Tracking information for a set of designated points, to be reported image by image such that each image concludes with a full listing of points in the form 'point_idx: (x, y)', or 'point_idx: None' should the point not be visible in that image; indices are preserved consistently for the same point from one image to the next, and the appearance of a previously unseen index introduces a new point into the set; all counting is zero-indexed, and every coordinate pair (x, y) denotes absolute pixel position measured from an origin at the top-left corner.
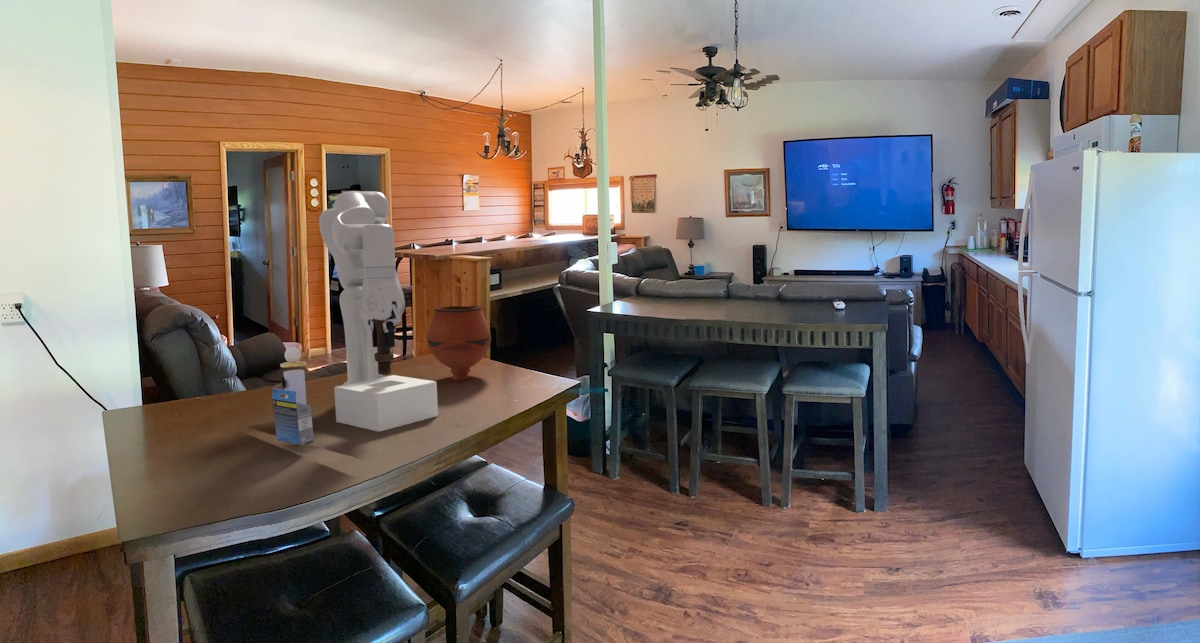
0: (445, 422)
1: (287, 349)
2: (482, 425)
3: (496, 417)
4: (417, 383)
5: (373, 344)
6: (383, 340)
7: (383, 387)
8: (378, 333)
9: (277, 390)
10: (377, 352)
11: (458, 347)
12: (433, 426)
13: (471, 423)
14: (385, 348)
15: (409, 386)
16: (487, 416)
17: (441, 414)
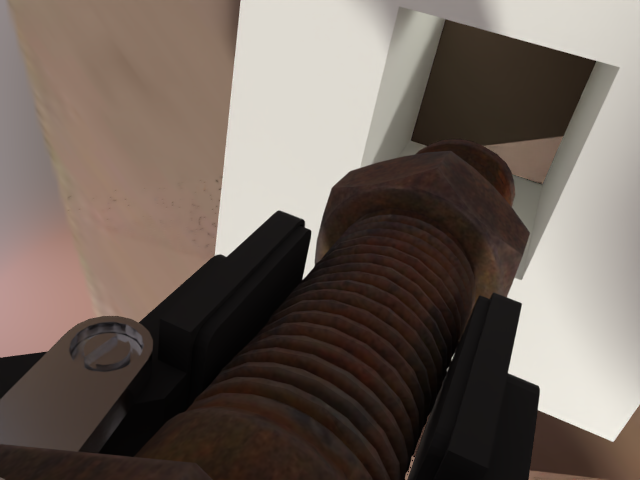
0: (200, 102)
1: None
2: (60, 98)
3: (98, 214)
4: (271, 209)
5: (499, 310)
6: (242, 257)
7: (548, 208)
8: (318, 378)
9: None
10: (446, 235)
11: None
12: (198, 24)
13: (109, 115)
14: (323, 260)
15: (253, 116)
16: (131, 221)
17: None
